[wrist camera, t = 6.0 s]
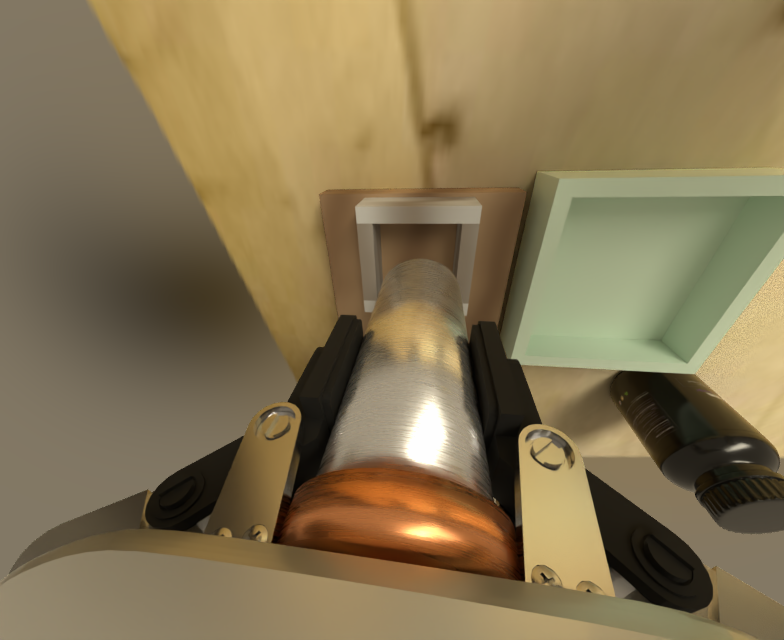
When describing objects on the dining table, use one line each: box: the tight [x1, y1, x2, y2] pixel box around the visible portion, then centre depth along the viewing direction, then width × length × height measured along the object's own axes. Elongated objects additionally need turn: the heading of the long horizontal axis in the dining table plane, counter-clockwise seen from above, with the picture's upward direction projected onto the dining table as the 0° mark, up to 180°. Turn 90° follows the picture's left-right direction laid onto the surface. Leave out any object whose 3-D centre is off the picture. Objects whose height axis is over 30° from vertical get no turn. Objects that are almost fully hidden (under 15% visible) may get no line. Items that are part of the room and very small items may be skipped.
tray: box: [500, 167, 784, 374], centre depth 21 cm, size 14×14×4 cm
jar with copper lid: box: [276, 259, 521, 581], centre depth 10 cm, size 5×5×11 cm
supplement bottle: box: [610, 370, 784, 534], centre depth 23 cm, size 7×7×12 cm
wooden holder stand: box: [319, 188, 527, 342], centre depth 23 cm, size 14×16×6 cm
